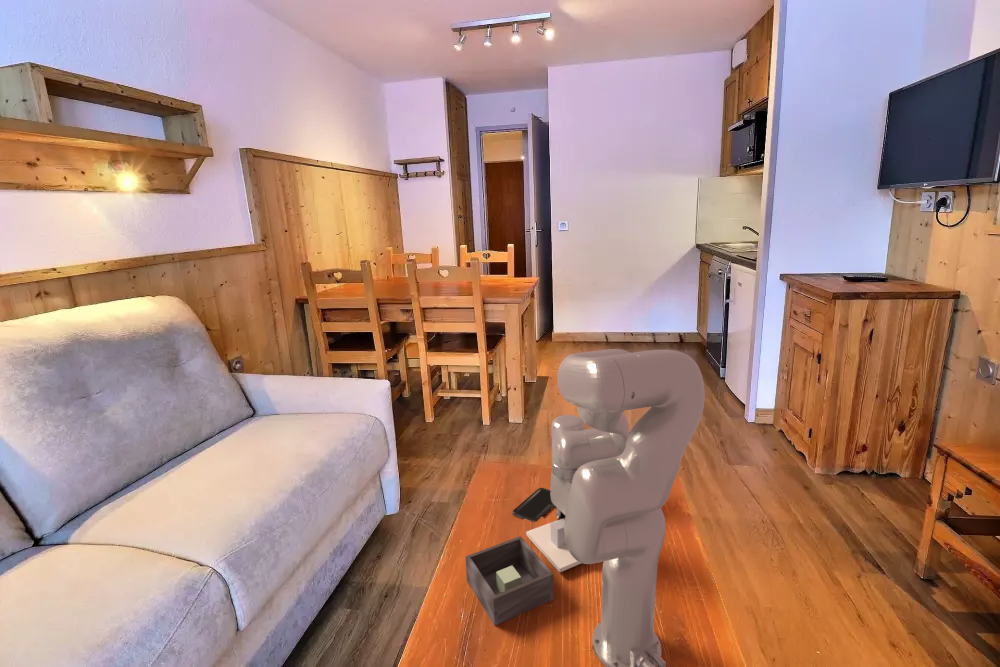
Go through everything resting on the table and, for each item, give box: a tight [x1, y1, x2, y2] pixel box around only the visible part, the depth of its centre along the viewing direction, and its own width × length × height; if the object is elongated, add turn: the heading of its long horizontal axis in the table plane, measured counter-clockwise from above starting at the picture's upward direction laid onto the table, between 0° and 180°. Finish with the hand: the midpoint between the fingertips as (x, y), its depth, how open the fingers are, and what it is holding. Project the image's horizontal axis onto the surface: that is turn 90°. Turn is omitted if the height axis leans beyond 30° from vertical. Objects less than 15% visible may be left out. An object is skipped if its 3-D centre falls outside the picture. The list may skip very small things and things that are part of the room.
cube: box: [496, 566, 521, 593], centre depth 107 cm, size 4×4×4 cm
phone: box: [512, 487, 555, 523], centre depth 138 cm, size 8×1×15 cm
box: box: [465, 535, 555, 626], centre depth 107 cm, size 14×14×7 cm
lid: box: [525, 518, 582, 573], centre depth 119 cm, size 15×15×6 cm
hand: (568, 535), depth 119 cm, fingers closed on lid, 3 cm apart
